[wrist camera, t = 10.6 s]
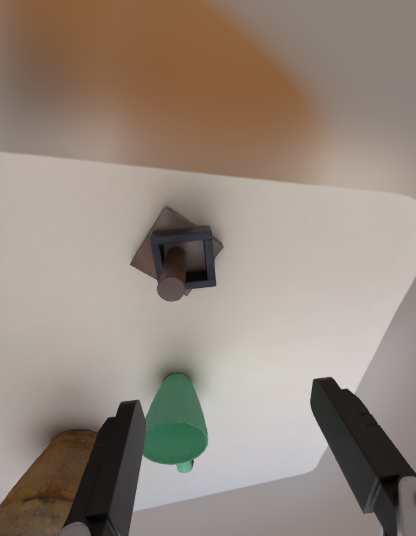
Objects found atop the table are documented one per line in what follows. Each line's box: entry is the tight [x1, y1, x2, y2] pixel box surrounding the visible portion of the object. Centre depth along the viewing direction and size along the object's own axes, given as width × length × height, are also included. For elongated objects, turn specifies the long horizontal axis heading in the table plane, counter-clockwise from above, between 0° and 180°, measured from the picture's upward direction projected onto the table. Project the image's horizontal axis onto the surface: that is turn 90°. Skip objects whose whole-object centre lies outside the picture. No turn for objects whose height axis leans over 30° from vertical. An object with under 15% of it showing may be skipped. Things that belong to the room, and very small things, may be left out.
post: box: [130, 206, 223, 301], centre depth 26 cm, size 9×9×11 cm
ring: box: [149, 226, 216, 290], centre depth 28 cm, size 7×7×3 cm
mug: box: [142, 373, 208, 473], centre depth 37 cm, size 15×10×10 cm
